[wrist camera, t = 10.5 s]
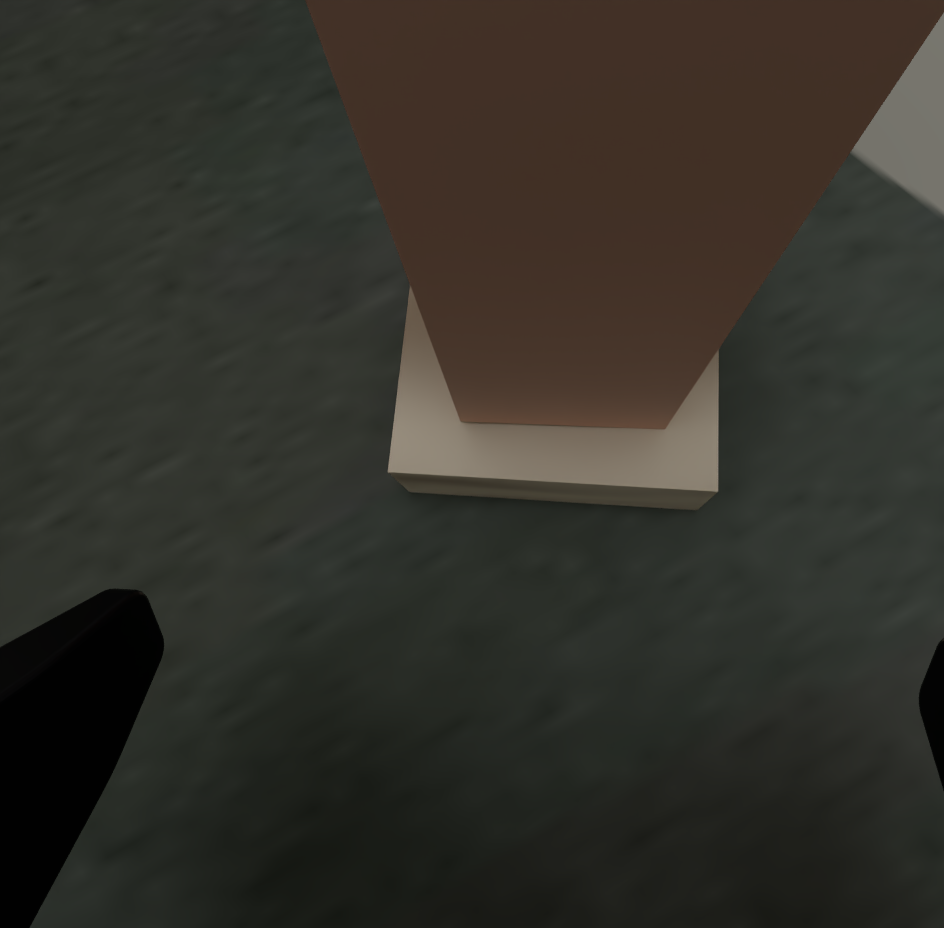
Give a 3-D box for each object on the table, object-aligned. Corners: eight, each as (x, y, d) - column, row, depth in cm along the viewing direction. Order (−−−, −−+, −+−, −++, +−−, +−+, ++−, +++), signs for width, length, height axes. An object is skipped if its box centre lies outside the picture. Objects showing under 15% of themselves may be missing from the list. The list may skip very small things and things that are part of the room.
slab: (693, 513, 19) (718, 491, 16) (412, 495, 20) (387, 471, 17) (697, 254, 21) (719, 192, 18) (439, 251, 22) (421, 193, 19)
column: (665, 429, 16) (1103, -225, 4) (460, 421, 17) (241, -176, 4) (665, 243, 17) (1002, -738, 5) (473, 241, 18) (331, -652, 5)
